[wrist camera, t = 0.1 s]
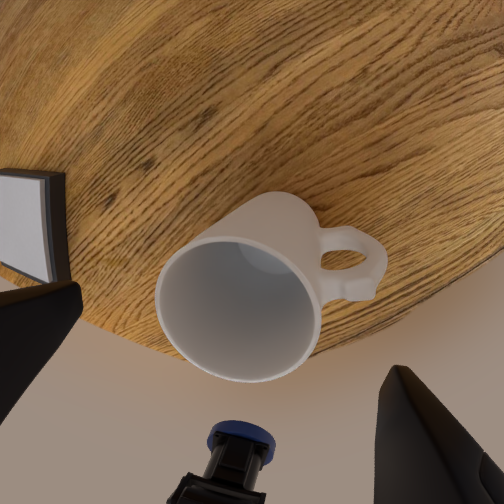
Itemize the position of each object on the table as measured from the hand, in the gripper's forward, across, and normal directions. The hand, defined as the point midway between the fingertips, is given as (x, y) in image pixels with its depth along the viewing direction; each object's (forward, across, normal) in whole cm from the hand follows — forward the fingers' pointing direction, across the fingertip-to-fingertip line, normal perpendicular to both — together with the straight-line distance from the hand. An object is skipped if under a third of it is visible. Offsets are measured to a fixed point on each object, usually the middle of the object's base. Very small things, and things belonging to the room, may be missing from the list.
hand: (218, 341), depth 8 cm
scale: (+16, +28, +6) cm, 32 cm away
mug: (+16, -1, +1) cm, 16 cm away
